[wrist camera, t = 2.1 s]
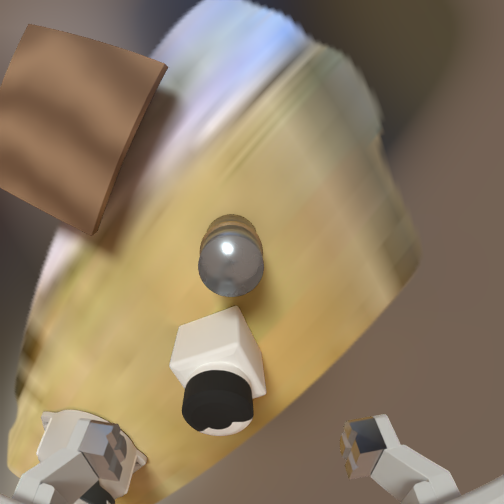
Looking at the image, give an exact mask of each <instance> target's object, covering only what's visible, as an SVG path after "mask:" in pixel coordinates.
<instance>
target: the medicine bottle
mask: <svg viewBox="0 0 504 504" xmlns="http://www.w3.org/2000/svg"><path fill="white" fill-rule="evenodd" d="M169 367H170V369H171V370H172V372H173V373H174V374H175V376H176V377H177V379H178V380H179V381H180V383H181V384H182V386H183V387H184V388H185V392H184V399H183V405H182V415H183V417H184V419H185V421H186V422H187V423H188V424H189V425H190V426H191V427H192V428H194V429H195V430H197V431H199V432H201V433H204V434H208V435H213V436H226V435H231V434H235V433H237V432H240V431H241V430H243V429H244V428H245V427H247V426H248V425H249V424H250V422H251V421H252V419H253V400H252V399H253V398H257V397H260V396H263V395H265V394H266V385H265V377H264V369H263V362H262V354H261V351H260V349H259V347H258V345H257V343H256V341H255V339H254V337H253V335H252V333H251V331H250V329H249V327H248V325H247V323H246V321H245V319H244V317H243V315H242V313H241V311H240V309H239V307H238V306H233V307H230V308H228V309H225V310H222V311H220V312H217V313H214V314H211V315H209V316H206V317H203V318H200V319H197V320H195V321H192V322H189V323H186V324H183V325H181V326H179V328H178V332H177V336H176V340H175V344H174V348H173V352H172V356H171V360H170V364H169Z"/></svg>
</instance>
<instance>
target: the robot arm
mask: <svg viewBox="0 0 504 504" xmlns="http://www.w3.org/2000/svg"><path fill="white" fill-rule="evenodd" d="M41 419H42V423H43V427H44V430H45V432H44V435H43V437H42V439H41V442H40V444H39V447H38V449H37V453H36V454H37V456H38V460H39V461H40V463H39V464H38V465H36V466H34V467H33V468H31V469H30V470H28V471H27V472H25V473H24V474H22V476H21V478H20V480H19V483H18V485H17V487H16V490H15V492H14V494H13V497H12V498H10V497H7V496H5V495H3V494H1V493H0V504H115V499H116V498H118V497H121V496H123V495H124V494H127V492H128V489H129V485H130V481H131V477H132V474H133V473H134V472H136V471H137V470H138V469H140V468H141V467H142V466H143V465H145V464H146V461H147V457H146V456H145V455H144V454H143V453H141V452H140V451H139V450H137V449H136V447H135V446H134V444H133V443H132V441H131V440H130V439H129V437H128V436H127V435H126V434H125V433H124V432H122V431H121V429H120V427H119V425H118V424H115V423H110V422H108V421H106V420H104V419H102V418H100V417H98V416H95V415H93V414H90V413H87V412H83V411H78V410H64V411H60V412H57V413H53V412H43V413H42V416H41ZM344 430H345V432H344V433H342V434H341V438H340V450H341V454H342V457H343V458H345V459H346V460H347V462H346V464H345V468H346V471H347V475H348V478H349V479H355V478H361V477H366V476H370V477H371V478H372V479H374V480H375V481H376V482H377V483H378V484H379V485H381V486H382V487H383V488H384V489H385V490H386V491H388V492H389V493H390V494H391V495H392V496H394V497H395V498H396V499H397V500H398V501H400V502H401V503H400V504H504V474H503V475H502V476H500V477H498V478H496V479H494V480H492V481H491V482H489V483H487V484H485V485H483V486H481V487H479V488H477V489H475V490H473V491H470V492H469V493H466V494H464V495H462V496H461V494H460V492H459V490H458V488H457V486H456V484H455V482H454V480H453V478H452V476H451V474H450V473H449V471H447V470H446V469H444V468H442V467H441V466H439V465H437V464H435V463H434V462H432V461H430V460H429V459H427V458H425V457H424V456H422V455H420V454H419V453H417V452H416V451H414V450H412V449H411V448H409V447H407V446H406V445H401V444H400V443H399V440H398V438H397V436H396V434H395V432H394V429H393V428H392V425H391V423H390V421H389V419H388V417H387V415H385V414H382V415H378V416H373V417H371V416H370V417H365V418H360V419H354V420H348V421H346V422H345V424H344Z"/></svg>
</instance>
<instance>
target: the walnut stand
mask: <svg viewBox="0 0 504 504" xmlns="http://www.w3.org/2000/svg"><path fill="white" fill-rule="evenodd" d="M167 69H168V66H167V65H166V64H164V63H162V62H159V61H156V60H154V59H151V58H148V57H145V56H143V55H140V54H137V53H134V52H131V51H128V50H125V49H122V48H119V47H116V46H113V45H109V44H106V43H103V42H100V41H96V40H93V39H89V38H86V37H82V36H78V35H75V34H71V33H67V32H63V31H59V30H55V29H50V28H46V27H42V26H37V25H32V24H28V26H27V28H26V30H25V32H24V34H23V36H22V38H21V40H20V42H19V44H18V46H17V48H16V51H15V53H14V55H13V58H12V60H11V62H10V64H9V67H8V69H7V71H6V74H5V77H4V79H3V82H2V84H1V87H0V188H2V189H4V190H5V191H7V192H9V193H11V194H12V195H14V196H16V197H18V198H20V199H22V200H23V201H25V202H27V203H29V204H31V205H33V206H34V207H36V208H38V209H40V210H42V211H44V212H46V213H48V214H50V215H51V216H53V217H55V218H57V219H59V220H61V221H63V222H65V223H67V224H69V225H71V226H73V227H75V228H77V229H78V230H80V231H82V232H84V233H86V234H88V235H90V236H92V235H93V234H95V233H96V232H97V231H98V228H99V225H100V222H101V219H102V216H103V214H104V211H105V208H106V205H107V202H108V199H109V197H110V194H111V191H112V189H113V186H114V183H115V181H116V178H117V176H118V173H119V171H120V168H121V166H122V163H123V161H124V158H125V156H126V154H127V151H128V149H129V147H130V144H131V142H132V140H133V138H134V135H135V133H136V131H137V129H138V126H139V124H140V122H141V120H142V118H143V116H144V114H145V112H146V110H147V107H148V105H149V103H150V101H151V99H152V97H153V95H154V93H155V91H156V89H157V88H158V86H159V84H160V82H161V80H162V78H163V76H164V74H165V72H166V71H167Z"/></svg>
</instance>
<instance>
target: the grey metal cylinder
mask: <svg viewBox="0 0 504 504" xmlns="http://www.w3.org/2000/svg"><path fill="white" fill-rule="evenodd" d="M262 256H263V249H262V244H261V241H260V238H259V236H258V235H257V233H256V230H255V228H254V226H253V225H252V223H251V222H250V221H248V220H247V219H246V218H244V217H242V216H239V215H234V214H229V215H224V216H221V217H219V218H217V219H216V220H214V221H213V222H212V223H211V225H210V226H209V228H208V230H207V233H206V234H205V235H204V237H203V239H202V242H201V246H200V258H199V263H198V270H199V275H200V277H201V280H202V281H203V283H204V284H205V285H206V287H207V288H209V289H210V290H211V291H213V292H214V293H216V294H218V295H221V296H226V297H236V296H241V295H244V294H246V293H248V292H250V291H251V290H252V289H254V288H255V287H256V286H257V284H258V283H259V282H260V280H261V278H262V275H263V270H264V264H263V258H262Z"/></svg>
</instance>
